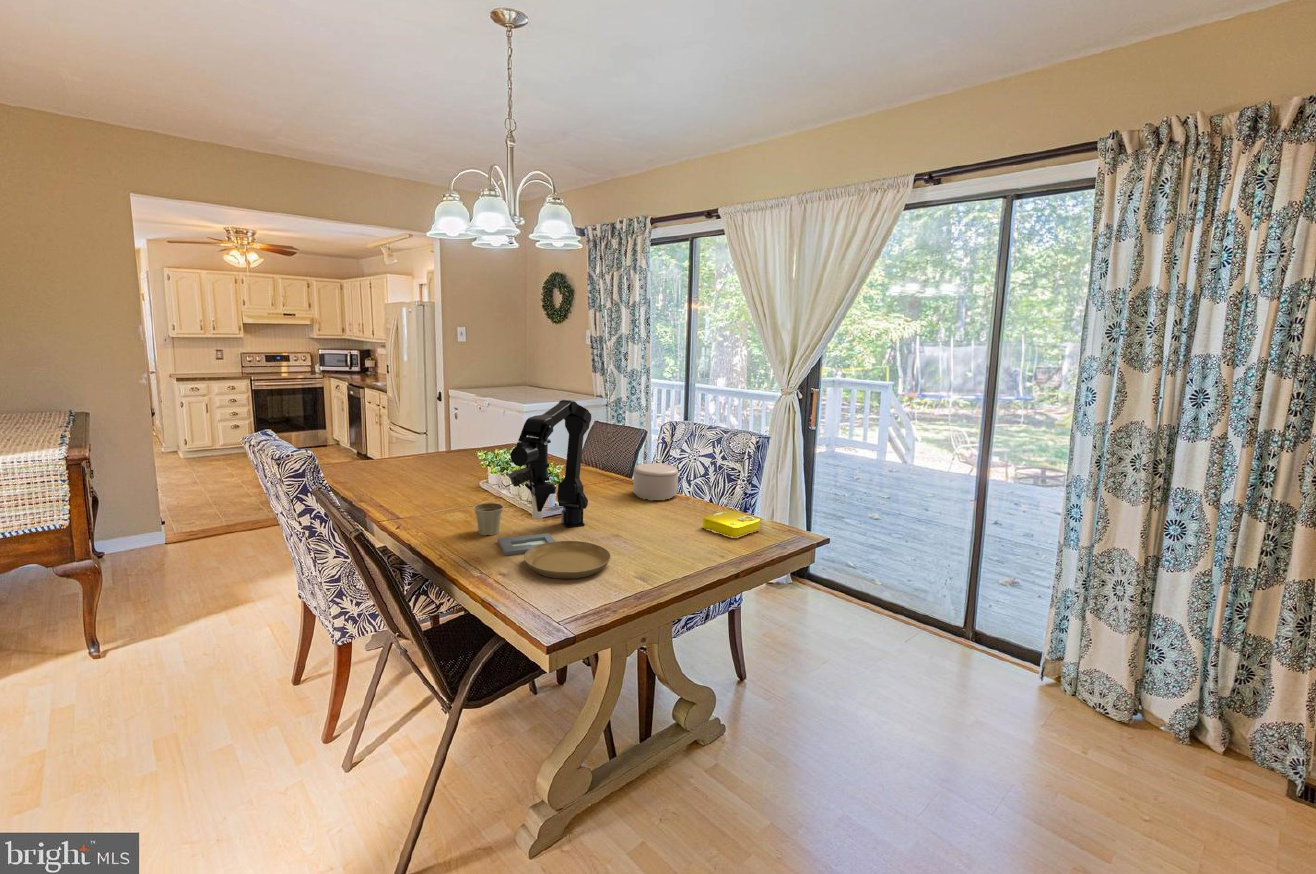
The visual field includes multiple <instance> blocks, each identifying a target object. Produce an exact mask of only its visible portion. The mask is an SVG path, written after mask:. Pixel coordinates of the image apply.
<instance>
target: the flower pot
mask: <svg viewBox="0 0 1316 874" xmlns="http://www.w3.org/2000/svg"><path fill="white" fill-rule="evenodd" d="M504 508H505V507H504V504H501V503H497V502H483V503H479V504H476V505H474V506H473V508H472V509H473V511H474V514H475V516H476V520H477V521H476V522H477V529H478V533H479V535H482V536H487V535H488V536H494V535H498V534H499V532H500V527H501V526H500V525H501V517H502V513H503V509H504Z"/></svg>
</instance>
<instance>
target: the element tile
mask: <svg viewBox="0 0 1316 874" xmlns="http://www.w3.org/2000/svg"><path fill="white" fill-rule="evenodd" d="M760 527H761V519H760V518H758V517H754V516H751V515H747V514H744V513H741V512H738V511H734V510H730V509H728V510H727V509H726V510H723V511H719V512H716V513H712V514H709V515H704V516H703V517H702V529H703V528H704V529H710V530H714V531H716V532H719V533H722V534H725V535H728V536H733V537H737V536H740V535H743V534H746V533H748V532H751V531H754V530H757V529H760ZM704 529H703V530H704Z"/></svg>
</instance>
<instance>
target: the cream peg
mask: <svg viewBox="0 0 1316 874" xmlns="http://www.w3.org/2000/svg"><path fill="white" fill-rule="evenodd" d="M531 499H532V500H531V501H532V502H531V503H532V507H531V509H532V511H531V512H532V514H531V515H532V516H531V517H532V519H533V520H542V519H543V518H544V508H543V509H542V511H541V512H538V511H537V506H536V500H535V495H534V494H532V495H531Z"/></svg>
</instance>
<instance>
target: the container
mask: <svg viewBox="0 0 1316 874" xmlns="http://www.w3.org/2000/svg"><path fill="white" fill-rule="evenodd" d="M632 485H633V486H632V487H633V494H635V495H636V496H637V498H639V497H640V498H639V499H641V498H643V499H642V500H645V499H648V500H647V501H653V500H662V501H666V500H665V499H669V498H671V497H673V496H674V497H675V496H678V491H679V490H678V488H679V470H678V468H677V467H675V466H674V465H671V464H666V463H660V462H659V463H658V462H657V463H655V462H653V463H652V462H649V463H642V464H638V465H636V466H634V468H633V484H632ZM674 497H673V498H674ZM669 500H670V499H669Z"/></svg>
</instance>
